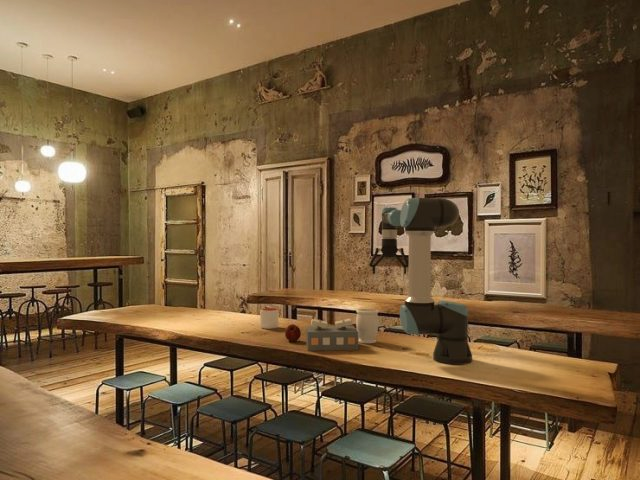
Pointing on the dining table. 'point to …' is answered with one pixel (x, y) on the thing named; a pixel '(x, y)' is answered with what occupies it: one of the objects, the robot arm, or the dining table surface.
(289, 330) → the apple
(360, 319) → the jar
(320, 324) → the switch
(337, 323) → the switch
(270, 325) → the cup
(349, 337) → the console
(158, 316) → the dining table surface
